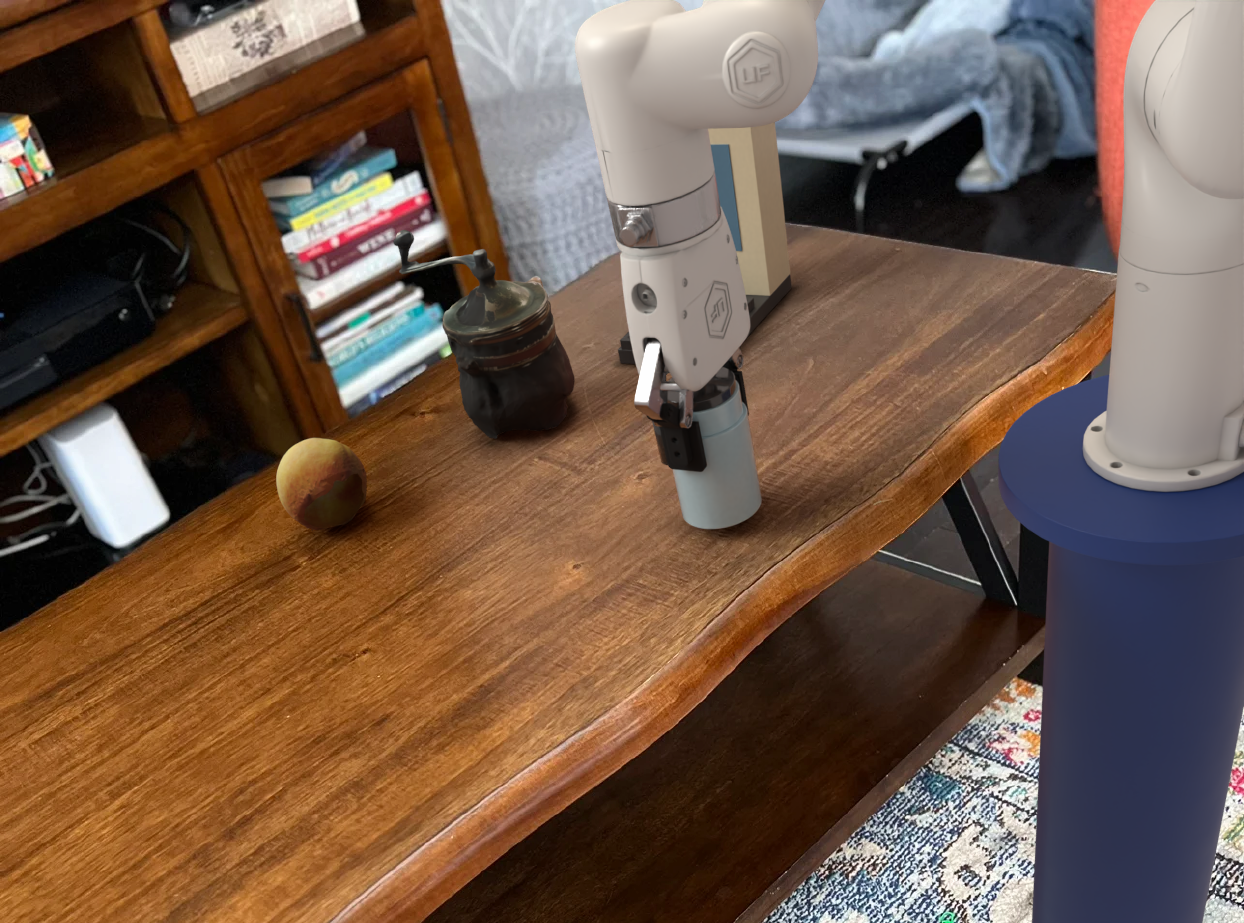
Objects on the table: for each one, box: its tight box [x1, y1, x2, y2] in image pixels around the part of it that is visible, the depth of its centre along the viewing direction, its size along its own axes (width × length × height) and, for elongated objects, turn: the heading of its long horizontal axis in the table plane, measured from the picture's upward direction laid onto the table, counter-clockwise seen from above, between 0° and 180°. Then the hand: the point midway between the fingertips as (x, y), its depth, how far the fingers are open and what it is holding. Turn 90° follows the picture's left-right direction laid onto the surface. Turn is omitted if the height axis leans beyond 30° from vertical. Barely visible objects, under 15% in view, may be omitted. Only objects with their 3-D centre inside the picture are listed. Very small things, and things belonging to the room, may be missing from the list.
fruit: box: [275, 437, 368, 532], centre depth 115 cm, size 8×8×8 cm
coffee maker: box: [617, 122, 793, 365], centre depth 124 cm, size 18×11×20 cm, turn 150°
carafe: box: [651, 367, 763, 530], centre depth 102 cm, size 7×8×11 cm
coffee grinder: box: [392, 229, 576, 440], centre depth 119 cm, size 13×15×18 cm
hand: (709, 441), depth 101 cm, fingers closed on carafe, 6 cm apart
